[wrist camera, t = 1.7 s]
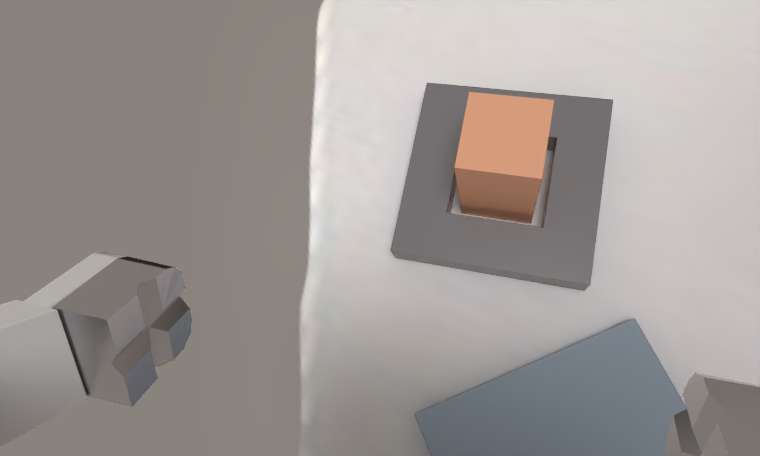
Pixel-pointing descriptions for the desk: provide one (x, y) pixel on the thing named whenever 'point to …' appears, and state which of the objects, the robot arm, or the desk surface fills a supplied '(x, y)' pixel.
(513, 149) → the terracotta block
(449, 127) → the pocket holder
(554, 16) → the desk surface
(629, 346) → the slate mat
